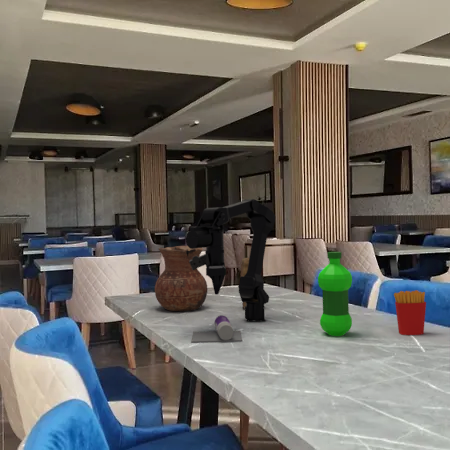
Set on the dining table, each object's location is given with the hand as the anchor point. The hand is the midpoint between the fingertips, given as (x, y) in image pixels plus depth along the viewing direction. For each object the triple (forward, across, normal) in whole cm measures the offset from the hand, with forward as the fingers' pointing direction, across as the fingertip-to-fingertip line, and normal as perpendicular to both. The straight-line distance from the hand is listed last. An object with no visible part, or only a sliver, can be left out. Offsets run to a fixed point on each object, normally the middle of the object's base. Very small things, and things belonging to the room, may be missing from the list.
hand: (216, 294), depth 171 cm
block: (+12, -38, +14) cm, 42 cm away
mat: (+11, +11, 0) cm, 16 cm away
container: (+9, +2, +1) cm, 9 cm away
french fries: (+12, +14, +58) cm, 61 cm away
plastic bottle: (+12, +12, +36) cm, 40 cm away
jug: (+12, -41, -14) cm, 45 cm away
